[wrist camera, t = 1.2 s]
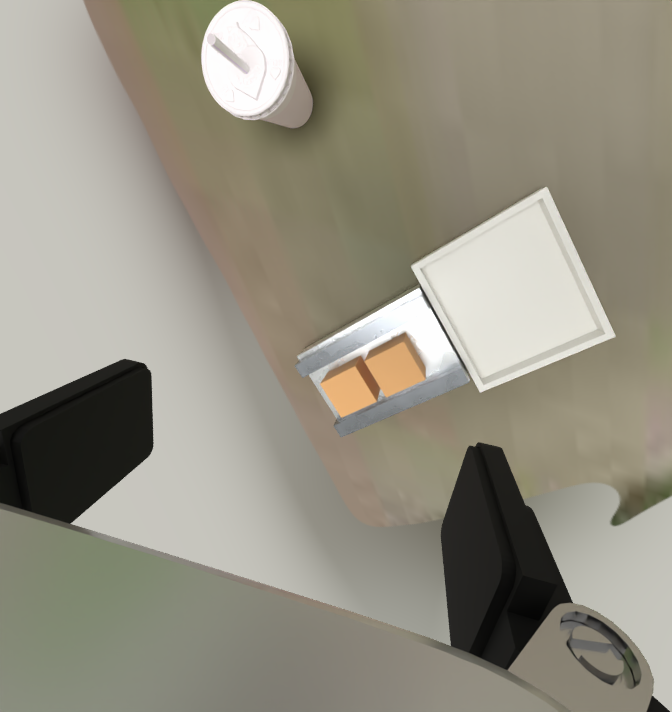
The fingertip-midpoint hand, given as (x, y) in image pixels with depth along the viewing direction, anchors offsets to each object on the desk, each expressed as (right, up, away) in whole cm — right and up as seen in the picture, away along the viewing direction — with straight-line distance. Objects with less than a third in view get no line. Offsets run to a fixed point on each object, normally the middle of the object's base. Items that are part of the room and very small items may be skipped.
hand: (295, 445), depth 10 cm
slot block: (+6, +2, +28) cm, 29 cm away
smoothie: (-3, +25, +23) cm, 34 cm away
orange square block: (+7, +2, +25) cm, 26 cm away
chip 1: (+3, 0, +27) cm, 27 cm away
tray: (+17, +8, +24) cm, 30 cm away
